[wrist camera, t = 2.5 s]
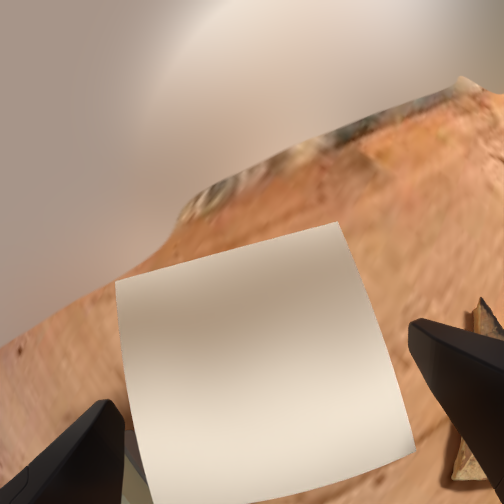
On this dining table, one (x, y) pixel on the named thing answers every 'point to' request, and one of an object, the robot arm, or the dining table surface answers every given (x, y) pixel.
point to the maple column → (258, 372)
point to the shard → (465, 460)
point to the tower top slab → (134, 486)
